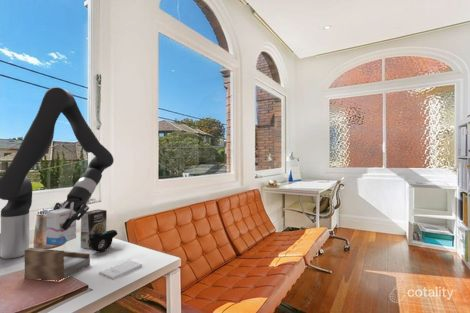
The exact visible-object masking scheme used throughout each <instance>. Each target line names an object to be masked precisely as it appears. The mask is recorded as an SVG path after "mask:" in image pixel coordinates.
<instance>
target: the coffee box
mask: <svg viewBox="0 0 470 313" xmlns="http://www.w3.org/2000/svg"><path fill="white" fill-rule="evenodd" d="M107 212H108V211H107V210H106V209H98V208H97V209H93V210H88V211H87V212H86V213H85V214H84V215H83V216H82V218H81V219H80V247H81V248H84V249H87V250H90V249H91V247H90V244H89V236H90V235H92V234H93V233H95V232H93V231H94V230H99V231H98V233H101V232H106V231H107V219H108V218H107ZM104 242H105V241H104V239H103V240H101V241H100V243H99V245H98V247H99V246H103V245H104ZM91 250H92V249H91Z"/></svg>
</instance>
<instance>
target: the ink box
mask: <svg viewBox="0 0 470 313" xmlns="http://www.w3.org/2000/svg"><path fill="white" fill-rule="evenodd" d="M70 211H71V210H70V209H66V208H64V209H58V210H53V209H52V210H50V211H47V212H46V216H45V217H46V220H45V221H46V231H45V232H46V240H45V242H46V244H45V245H46V246H47V245H48V246H49V245H50V246H60V245H62V244H64V243H65V244H66V243H67V242H70V241H73V240H74V239H76V238H77V220H75V221H74V222H72V224H71V226H70V227H69V228H68V229H67V230H63V229H62V226H63V224H64V223H65V221H66V220H67V219H69V218H68V217H69V215H70ZM74 212H75V211H74ZM75 213H76V212H75Z"/></svg>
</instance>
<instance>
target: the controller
mask: <svg viewBox="0 0 470 313" xmlns="http://www.w3.org/2000/svg"><path fill="white" fill-rule="evenodd" d="M98 231H99V230H94V231H93V232H95V233H93V234H92V235H90V236H89V244H90V247H91V250H93V251H94V252H97V253H103V252H105V251H106V250H108V249H109V248H110V247H111V245H112V243H113V239H114V237H116V236H117V235H118V231H117V230H115V229H110V230H106V232H101V233H98ZM103 239H104V241H105V242H104V244H102V245H101V247H99V246H100V245H99V243H100V241H101V240H103ZM98 245H99V246H98Z"/></svg>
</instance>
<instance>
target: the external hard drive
mask: <svg viewBox="0 0 470 313" xmlns="http://www.w3.org/2000/svg"><path fill="white" fill-rule="evenodd" d="M142 267H143V263H140V262H137V261H134V260H132V259H127V260H125V261H122V262H121V263H118V264H115V265H113V266H111V267H109V268H106V269H103V270H101V271H99V272H98V275H100V276H102V277H106V278H107V279H109V280H111V281H113V280H116V279H118V278H120V277H122V276H125V275H128V274H129V273H131V272H133V271H136V270H138V269H140V268H142Z"/></svg>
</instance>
